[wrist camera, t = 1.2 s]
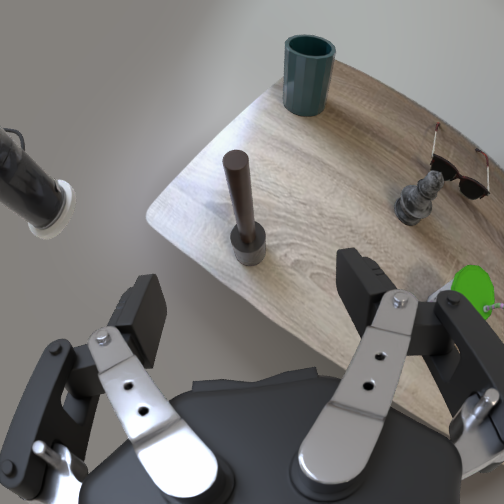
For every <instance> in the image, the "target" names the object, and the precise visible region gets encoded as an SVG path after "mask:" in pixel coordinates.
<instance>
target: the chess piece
mask: <svg viewBox="0 0 504 504" xmlns="http://www.w3.org/2000/svg"><path fill="white" fill-rule="evenodd" d="M443 185H444V179H443V176H442V173H441V172H438V171H434V170H433V171H430V172H429V173H428V174H427V175H426V177H425V178H424V179H421V180H419V181H418V184H417V186H415V185H409V186H406V187H404V189H403V190H402V192H401V197H400V198H399V199H397V201H396V202H395V206H394V209H395V213H396V215H397V217H398V218H399V220H400V221H401V222H403V223H404V224H406V225H411V226H413V225H416V224H418V223H419V221H420V220H421V219H423V218H426V217H427V216H429V215H430V213H431V211H432V202H431V200H434V199H435V198H436V197H437V192H438V191H439V190H440V189H441V188H442V187H443Z"/></svg>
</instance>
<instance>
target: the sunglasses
mask: <svg viewBox="0 0 504 504" xmlns="http://www.w3.org/2000/svg"><path fill="white" fill-rule="evenodd" d="M438 126H440V123H439V122H437V124H436V129H435V138H434V145H433V151H432V156H431V158H432V161H431V163H430V165H431V167H430V171H433V170H434V171H438V172H441V173H442V176H443V179H444V181H448V180H450V181H452V180H455V179H457V178H459V179H460V183H459V187H460V188H459V189H460V193H461V194H462V195H463V196H465V197H466V198H468V199H471V200H476V199H478V198H479V197H480V199H481V198H483V197H484V196H489V194H490V192H489V163H488V157H487V155H486V154H485V153H483V152H482V151H481V150H479V149H477V148H476V149H475V150H476V151H478V152H481V153H482V154H484V155H485V157H486V160H487V174H488V187H487V189H486V188H485V187H484V186H483V185H482V184H481V183H479V182H478V181H476V180H474V179H472V178H470V177H467V176H462V175H460V174H459V171H458V170H457V169H456V167H455V166H454V165H453V164H451V163H450V162H449V161H447V160H446V159H444V158H442V157H440V156H438V155H436V154H434V150H435V149H434V147H435V140H436V132H437V130H438Z"/></svg>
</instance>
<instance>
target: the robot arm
mask: <svg viewBox="0 0 504 504" xmlns="http://www.w3.org/2000/svg"><path fill="white" fill-rule="evenodd" d="M5 131H6V132H12V133H15V134H17V135H18V136H19V138H20V141H21V147H20V146H19V145H18V144H17V143H16V142H15V141H14V140H13V139H12V138H11V137H10V136H9V135H8V134H7V133H6V132H5ZM0 203H1V204H3V205H4V206H5V207H7V208H8V209H10V210H11V211H12V212H14V213H15V214H17V215H18V216H20V217H21V218H23V219H24V220H25V221H27V222H29V223H30V224H32V225H33V226H34V227H35V228H37V229H39V230H44V229H47V228H49V227H51V226H52V225H53V224H54V223H55V222H56V221H57V220H58V219H59V217H60V216H61V214H62V212H63V210H64V207H65V204H66V192H65V189H64V188H63V187H62V186H61V185H59V184H58V181H57V180H56V179H55V180H54V179H53V178H52V177H51V176H49V175H48V174H47V173H46V172H45V171H44V170H43V169H42V168H41V167H40V166H39V165H38V164H37V163H36V162H35V161H34V160H33V159H32V158H31V157H30V156H29V155H28V154H27V153H25V144H24V139H23V136H22V134H21V133H20V132H19V131H17V130H14V129H7V128H2V127H1V126H0ZM336 287H337V291H338V294H339V296H340V298H341V300H342V302H343V304H344V305H345V307H346V309H347V311H348V313H349V315H350V317H351V319H352V321H353V323H354V325H355V327H356V329H357V331H358V333H359V335H360V337H361V341H360V343H359V345H358V348H357V350H356V352H355V354H354V356H353V358H352V360H351V362H350V364H349V366H348V368H347V370H346V372H345V374H344V376H343V378H342V379H339V378H336V377H331V376H323V375H318V373H317V370H316V367H312V368H305V369H300V370H294V371H287V372H283V373H281V374H278V375H275V376H272V377H269V378H266V379H263V380H260V381H257V382H244V381H234V380H224V379H219V380H205V381H193V386H192V390H191V391H188V392H185V393H182V394H180V395H178V396H176V397H174V398H173V399H171V400H169V401H167V399H166V398H165V397H164V395H163V394H162V392H161V391H160V390H159V388H158V387H157V386H156V384H155V383H154V382H153V381H152V379H151V378H150V376H149V374H148V373H147V371H146V370H145V369H150V368H153V365H154V361H155V357H156V353H157V350H158V346H159V342H160V338H161V334H162V330H163V327H164V323H165V319H166V315H167V307H166V302H165V299H164V296H163V293H162V290H161V287H160V284H159V281H158V278H157V276H156V274H149V275H141V276H139V277H138V278H137V280H136V282H135V284H134V286H133V287H130V288H129V289H128V290H127V291H126V292H125V293H124V294H123V295H122V297H121V299H120V300H119V303H118V304H117V306H116V309H115V310H114V312H113V314H112V317H111V318H110V321H109V323H108V325H107V326H106V327H103V328H100V329H98V330H96V331H95V332H94V333H92V335H91V336H90V337H89V339H88V344H85V345H81V346H78V347H74V348H73V347H72V345H71V344H70V342H69V341H68V340H66V339H58V340H56V341H54V342H52V343H50V344H49V345H48V346H47V347H46V348H45V350H44V352H43V354H42V356H41V358H40V360H39V361H38V364H37V365H36V368H35V370H34V372H33V374H32V376H31V378H30V380H29V382H28V384H27V386H26V389H25V391H24V393H23V396H22V398H21V400H20V402H19V405H18V407H17V410H16V412H15V414H14V417H13V419H12V422H11V425H10V427H9V430H8V433H7V435H6V438H5V441H4V444H3V447H2V450H1V453H0V483H1V484H2V485H3V486H4V487H6V488H7V489H9V490H11V491H12V492H14V493H15V494H17V495H18V496H19V497H20V498H22V499H23V500H25V501H27V502H28V503H30V504H460V486H461V480H463V479H465V478H466V477H468V476H470V475H472V474H474V473H476V472H480V473H488V472H491V471H492V470H494V469H495V468H496V467H498V466H499V465H500V464H501V463H503V462H504V344H503V343H502V341H501V340H500V339H499V337H498V336H497V335H496V333H495V332H494V331H493V329H492V328H491V327H490V326H489V324H488V323H487V322H486V321H485V319H484V318H483V317H482V316H481V314H480V313H479V312H478V311H477V310H476V308H475V307H474V306H473V305H472V304H471V302H470V301H469V300H468V299H467V298H466V297H465V296H464V295H463V294H461V293H460V292H457V291H454V290H444V291H441V292H440V293H439V294H438V295H437V299H436V302H418V300H417V298H416V296H415V295H414V294H412V293H411V292H409V291H406V290H401V289H397V288H396V286H395V285H394V284H393V283H392V281H391V280H390V279H389V278H388V276H387V275H386V274H385V273H384V271H383V270H382V269H380V267H379V265H378V264H377V263H376V262H375V261H373V260H372V259H370V258H368V257H362V256H361V255H360V254H359V253H358V251H357V250H356V249H355V248H346V249H339V250H338V251H337V257H336ZM454 344H456V345H457V347H458V348H459V351H460V353H459V352H458V350H457V349H456V347H455V346H454ZM413 355H422V357H423V359H424V360H425V362H426V364H427V366H428V368H429V370H430V372H431V374H432V376H433V378H434V380H435V382H436V384H437V386H438V388H439V390H440V392H441V394H442V396H443V398H444V400H445V402H446V405H447V407H448V409H449V411H450V413H451V415H452V418H453V419H452V421H451V423H450V425H449V434H450V438H451V439H450V440H449V439H448V438H447V437H445V436H443V435H442V434H440V433H438V432H436V431H434V430H432V429H430V428H428V427H427V426H425V425H423V424H421V423H419V422H417V421H415V420H413V419H412V418H410V417H408V416H406V415H404V414H403V413H401V412H399V411H397V410H396V409H394V408H392V407H390V405H391V402H392V399H393V396H394V394H395V391H396V388H397V384H398V381H399V378H400V375H401V372H402V368H403V365H404V362H405V358H406V356H413ZM64 387H65V388H66V390H67V391H68V394H67V396H66V400H65V402H64V405H63V407H62V404H61V395H62V392H63V390H64ZM104 393H106V395H107V397H108V399H109V401H110V403H111V405H112V407H113V409H114V411H115V413H116V415H117V417H118V419H119V421H120V423H121V424H122V426H123V428H124V430H125V432H126V434H127V435H128V437H129V438H128V439H127V440H126V441H125V442H124V443H123V444H122V445H121V446H120V447H118V448H117V449H116V450H115V451H114V452H113V453H112V454H111V455H110V456H109V457H108V458H107V459H105V460H104V461H103V462H102V463H101V464H100V465H98V466H97V467H96V468H95V469H94V470H93V471H92V472H90V473H89V474H88V468H87V466H86V464H85V463H84V460H85V455H86V450H87V446H88V441H89V437H90V432H91V428H92V423H93V420H94V415H95V412H96V408H97V404H98V401H99V397H100V394H104Z"/></svg>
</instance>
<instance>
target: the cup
mask: <svg viewBox="0 0 504 504" xmlns="http://www.w3.org/2000/svg"><path fill="white" fill-rule="evenodd" d="M444 290H454V291H457V292H460V293H461V294H463V295H464V296H465V297H466V298H467V299H468V300H469V301H470V302H471V304H472V305H473V306H474V307H475V308H476V310H477V311H478V312H479V313H480V314H481V316H482V317H483V318H484V319H485V320H486V319H487V318H488V317H489V316H490V315H491V312H492V309H495V308H502V309H504V304H502V303H497V304H494V302H495V299H494V286H493V284H492V282H491V280H490V277H489V275H488V273H486V272H485V271H484V270H483V269H482V268H481V267H480V266H476V265H467V266H465V267H464V268H462V269H461V270H460V271H459V272H457V273H456V274H455V277H454V279H452V280H451V281H450V282H448V283H447V284H446V285H444V286H443V287H442V288H440V289H439V290H437V291H436V292H435V293H433V294H432V295H430V296H429V297H428V300H427V302H436V299H437V295H438V294H439V293H440V292H441V291H444Z"/></svg>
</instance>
